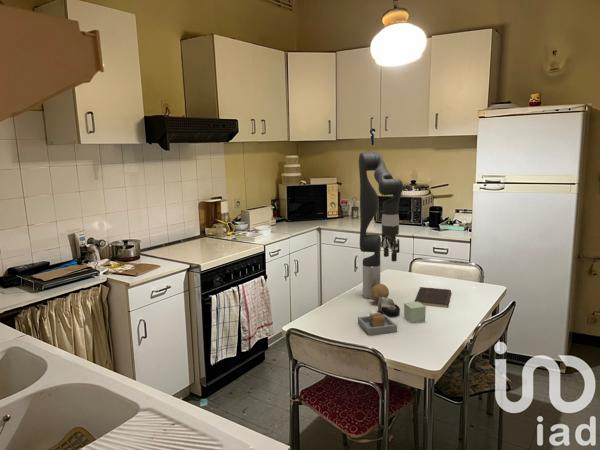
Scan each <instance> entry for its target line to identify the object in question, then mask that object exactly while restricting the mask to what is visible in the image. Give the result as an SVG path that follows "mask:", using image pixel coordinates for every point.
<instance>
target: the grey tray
mask: <svg viewBox="0 0 600 450" xmlns="http://www.w3.org/2000/svg"><path fill="white" fill-rule="evenodd" d="M382 315H383V316H384V317H385V326H378V327H372V326H371V325H370V324H369V315H367V316H360V317H357V325H358V326H359V327H360V328H361V329H362V330H363V331H364V332H365V333H366V334H367V335H368V336H375V335H381V334H382V335H383V334H390V333H397V332H398V324H396V323H395V322H394V321H393V320H392V318H390V317H389V316H387V315H385V314H384V313H382Z"/></svg>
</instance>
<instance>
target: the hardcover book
mask: <svg viewBox="0 0 600 450" xmlns="http://www.w3.org/2000/svg"><path fill="white" fill-rule="evenodd" d="M451 293H452V291H451V289H447V288H436V287H435V288H434V287H425V286H423V287H421V286H420V287H419V289H418V291H417V294H416V297H415V299H414V301H413V302H420V303H421V304H422V305H424V306H429V307H436V308H437V307H438V308H445V309H446V308H447V309H448V308H449V304H450V301H451V299H450V298H451Z"/></svg>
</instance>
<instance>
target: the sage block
mask: <svg viewBox="0 0 600 450" xmlns="http://www.w3.org/2000/svg"><path fill="white" fill-rule="evenodd" d="M403 317H404V319H405V320H407V321H408V322H409V323H410V324H414V323H421V322H422V323H424V322H426V305H422V304H421V303H420V302H414V301H412V302H404V304H403Z"/></svg>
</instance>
